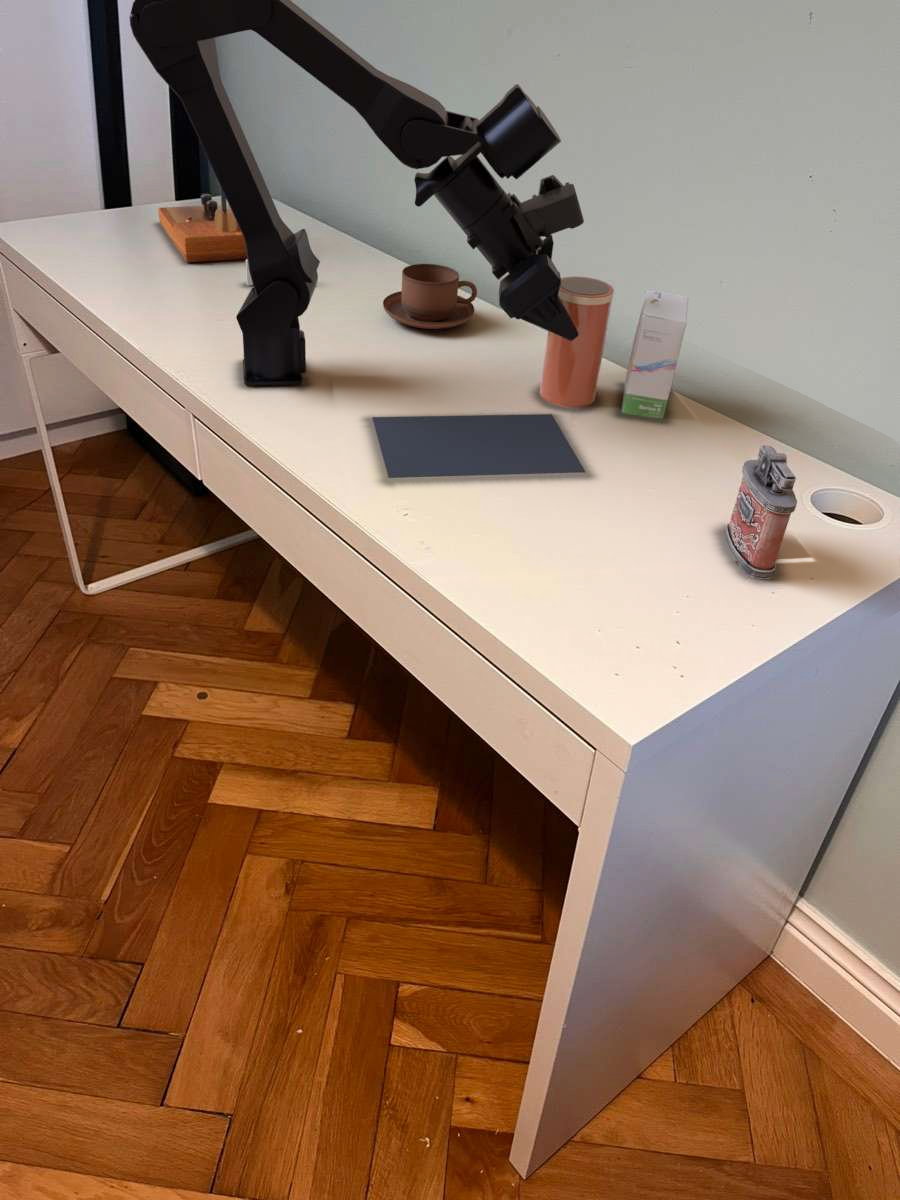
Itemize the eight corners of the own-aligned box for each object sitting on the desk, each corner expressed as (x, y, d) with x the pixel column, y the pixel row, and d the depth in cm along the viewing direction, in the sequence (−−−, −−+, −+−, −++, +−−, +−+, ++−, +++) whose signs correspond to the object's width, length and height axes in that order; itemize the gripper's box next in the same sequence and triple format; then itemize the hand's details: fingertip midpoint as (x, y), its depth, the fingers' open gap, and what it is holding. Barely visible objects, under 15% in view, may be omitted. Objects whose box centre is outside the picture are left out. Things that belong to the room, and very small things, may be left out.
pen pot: (565, 414, 111) (583, 300, 103) (527, 392, 115) (541, 280, 107) (606, 402, 114) (626, 290, 107) (568, 381, 118) (585, 272, 111)
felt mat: (388, 481, 96) (388, 477, 96) (371, 420, 106) (372, 416, 106) (585, 475, 100) (585, 471, 100) (551, 417, 110) (551, 414, 110)
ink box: (624, 385, 119) (642, 287, 112) (667, 391, 118) (689, 294, 111) (619, 415, 112) (639, 313, 105) (665, 422, 111) (688, 320, 104)
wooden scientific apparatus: (203, 288, 134) (193, 149, 124) (159, 223, 155) (147, 100, 145) (299, 281, 139) (297, 147, 129) (243, 219, 160) (238, 100, 150)
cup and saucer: (449, 299, 138) (452, 255, 134) (488, 331, 129) (493, 285, 125) (368, 307, 133) (370, 261, 129) (404, 341, 125) (406, 292, 121)
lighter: (717, 529, 93) (743, 433, 87) (751, 530, 94) (780, 434, 88) (744, 579, 87) (775, 479, 81) (781, 579, 87) (814, 480, 81)
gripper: (550, 178, 92) (644, 306, 99) (539, 135, 107) (622, 248, 114) (458, 257, 96) (554, 373, 103) (460, 204, 111) (545, 309, 118)
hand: (571, 321), depth 109 cm, fingers open, 9 cm apart
